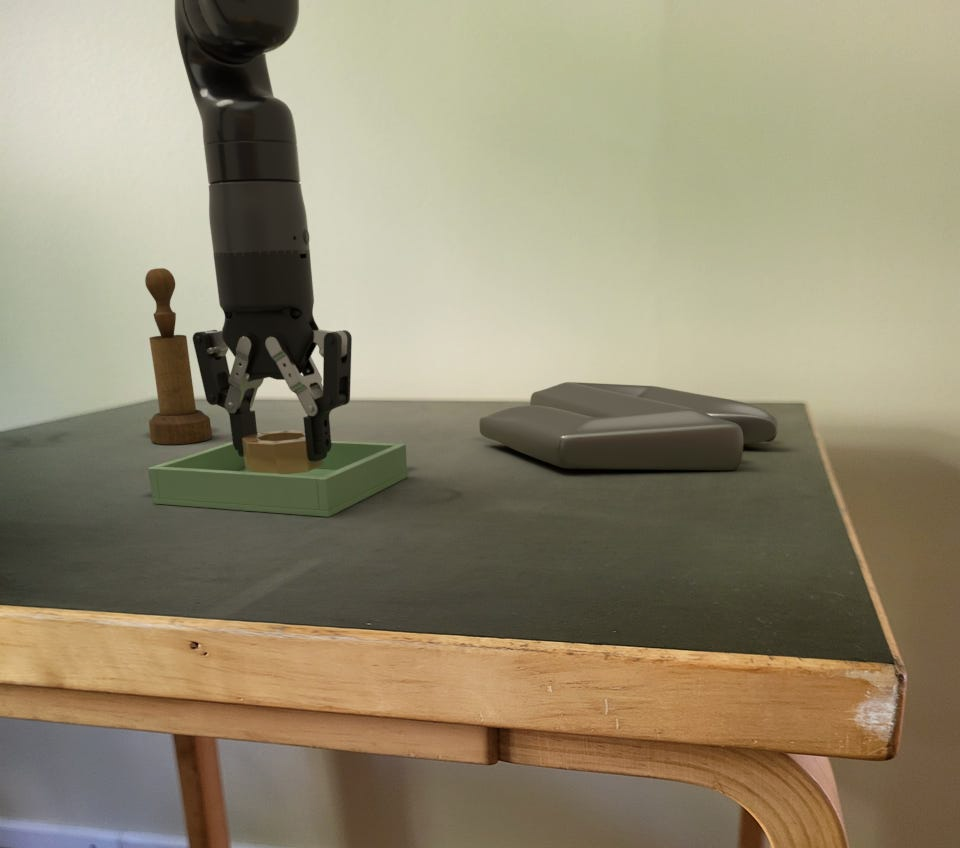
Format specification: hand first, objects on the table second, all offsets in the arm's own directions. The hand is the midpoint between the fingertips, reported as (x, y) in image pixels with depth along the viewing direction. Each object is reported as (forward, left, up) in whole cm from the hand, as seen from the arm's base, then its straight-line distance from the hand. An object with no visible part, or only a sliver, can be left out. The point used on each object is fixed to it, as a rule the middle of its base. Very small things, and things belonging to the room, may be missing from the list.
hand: (283, 456), depth 83 cm
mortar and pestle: (-25, +19, -3) cm, 32 cm away
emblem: (+24, +25, -3) cm, 35 cm away
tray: (0, 0, -3) cm, 3 cm away
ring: (0, 0, -1) cm, 1 cm away
